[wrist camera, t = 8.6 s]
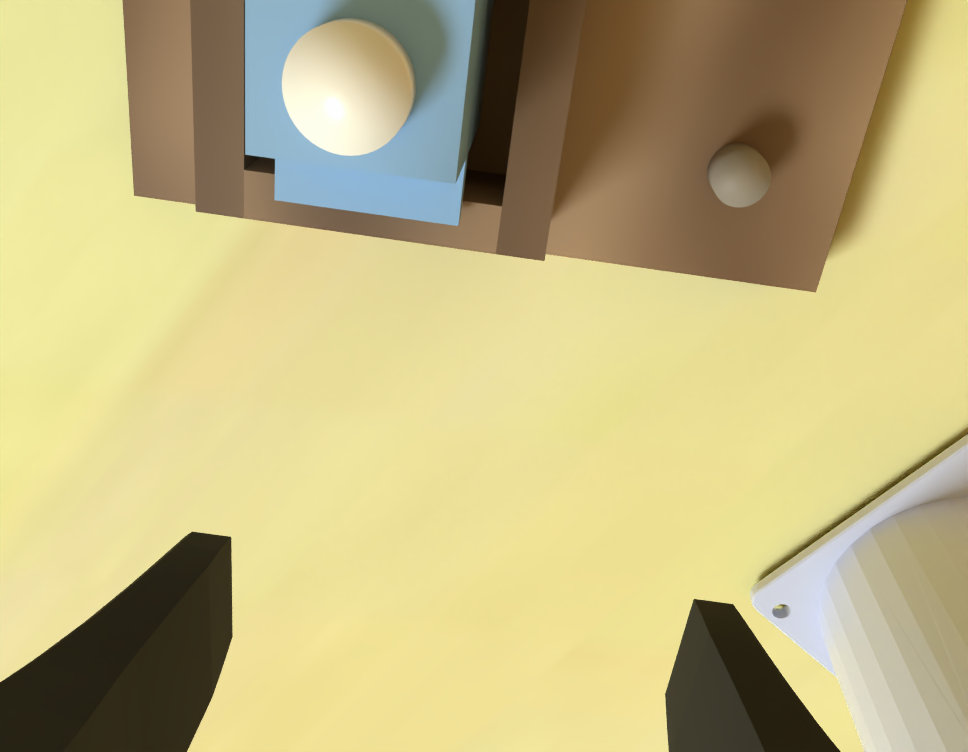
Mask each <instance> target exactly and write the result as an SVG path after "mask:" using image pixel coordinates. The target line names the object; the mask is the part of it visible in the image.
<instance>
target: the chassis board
mask: <svg viewBox="0 0 968 752" xmlns="http://www.w3.org/2000/svg"><path fill="white" fill-rule="evenodd" d="M906 3H907V0H494V5H493V14H492V23H491V31H490V40H489V48H488V57H487V65H486V74H485V82H484V91H483V100H482V108H481V117H480V125H479V128H478V130H477V133H476V135H475V138H474V140H473V142H472V145H471V147H470V150H469V152H468V159H467V168H466V177H465V185H464V194H463V203H462V212H461V219H460V222H459V225H458V226H454V225H447V224H440V223H433V222H426V221H419V220H412V219H405V218H397V217H390V216H383V215H376V214H369V213H362V212H355V211H348V210H341V209H334V208H327V207H320V206H312V205H305V204H298V203H291V202H284V201H277V200H274V196H275V159H273V158H266V157H259V156H252V155H245V0H123V14H124V31H125V48H126V65H127V82H128V99H129V116H130V133H131V150H132V167H133V184H134V196H141V197H148V198H155V199H162V200H169V201H176V202H183V203H190V204H196V212H203V213H210V214H217V215H224V216H231V217H238V218H246V219H253V220H260V221H267V222H274V223H281V224H288V225H295V226H302V227H309V228H316V229H323V230H330V231H337V232H344V233H351V234H358V235H365V236H372V237H379V238H386V239H393V240H400V241H407V242H415V243H422V244H429V245H436V246H443V247H450V248H457V249H464V250H471V251H478V252H485V253H492V254H499V255H506V256H513V257H520V258H527V259H534V260H541V261H544V260H545V254H550V255H557V256H564V257H571V258H578V259H585V260H592V261H599V262H606V263H613V264H620V265H627V266H634V267H641V268H648V269H655V270H662V271H670V272H677V273H684V274H691V275H698V276H705V277H712V278H719V279H726V280H733V281H740V282H747V283H754V284H761V285H768V286H775V287H782V288H789V289H796V290H803V291H810V292H816V290H817V287H818V284H819V281H820V277H821V274H822V271H823V268H824V265H825V261H826V258H827V255H828V252H829V249H830V245H831V242H832V239H833V236H834V233H835V229H836V226H837V223H838V220H839V217H840V213H841V210H842V207H843V204H844V201H845V198H846V194H847V191H848V188H849V185H850V182H851V178H852V175H853V172H854V169H855V166H856V162H857V159H858V156H859V153H860V150H861V146H862V143H863V140H864V137H865V134H866V130H867V127H868V124H869V121H870V118H871V115H872V111H873V108H874V105H875V102H876V99H877V95H878V92H879V89H880V86H881V83H882V79H883V76H884V73H885V70H886V67H887V63H888V60H889V57H890V54H891V51H892V47H893V44H894V41H895V38H896V35H897V32H898V28H899V25H900V22H901V19H902V16H903V12H904V9H905V6H906Z"/></svg>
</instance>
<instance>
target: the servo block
mask: <svg viewBox="0 0 968 752" xmlns="http://www.w3.org/2000/svg"><path fill="white" fill-rule="evenodd" d="M493 5H494V0H245V155H252V156H259V157H266V158H273V159H275V196H274V200H277V201H284V202H291V203H298V204H305V205H312V206H320V207H327V208H334V209H341V210H348V211H355V212H362V213H369V214H376V215H383V216H390V217H397V218H405V219H412V220H419V221H426V222H433V223H440V224H447V225H454V226H458V225H459V222H460V219H461V212H462V203H463V194H464V185H465V177H466V168H467V159H468V152H469V150H470V147H471V145H472V142H473V140H474V138H475V135H476V133H477V130H478V128H479V125H480V117H481V108H482V100H483V91H484V82H485V74H486V65H487V57H488V48H489V40H490V31H491V23H492V14H493Z"/></svg>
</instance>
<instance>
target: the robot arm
mask: <svg viewBox="0 0 968 752" xmlns="http://www.w3.org/2000/svg"><path fill="white" fill-rule="evenodd" d="M750 598H751V602H752V605H753V607H754V608H755V609H756V610H757V611H758V612H759V613H760V614H761V615H763V616H764V617H765V618H766V619H767V620H769V621H770V622H771V623H772V624H773V625H775V626H776V627H777V628H778V629H779V630H781V631H782V632H783V633H784V634H785V635H786V636H788V637H789V638H790V639H791V640H792V641H794V642H795V643H796V644H797V645H798V646H800V647H801V648H802V649H803V650H804V651H806V652H807V653H808V654H809V655H810V656H812V657H813V658H814V659H815V660H816V661H818V662H819V663H820V664H821V665H822V666H824V667H825V668H826V669H827V670H828V671H829V672H831V673H832V674H833V675H834V676H835V677H837V679H838V681H839V684H840V687H841V690H842V692H843V695H844V698H845V700H846V703H847V706H848V709H849V711H850V714H851V717H852V720H853V722H854V725H855V728H856V730H857V733H858V736H859V739H860V741H861V744H862V747H863V749H864V752H968V434H967V435H966V436H964V437H963V438H961V439H960V440H959V441H957V442H956V443H954V444H953V445H951V446H950V447H949V448H947V449H946V450H944V451H943V452H942V453H940V454H939V455H937V456H936V457H934V458H933V459H932V460H930V461H929V462H927V463H926V464H925V465H923V466H922V467H920V468H919V469H918V470H916V471H915V472H913V473H912V474H910V475H909V476H908V477H906V478H905V479H903V480H902V481H901V482H899V483H898V484H896V485H895V486H893V487H892V488H891V489H889V490H888V491H886V492H885V493H884V494H882V495H881V496H879V497H878V498H876V499H875V500H874V501H872V502H871V503H869V504H868V505H867V506H865V507H864V508H862V509H861V510H859V511H858V512H857V513H855V514H854V515H852V516H851V517H850V518H848V519H847V520H845V521H844V522H842V523H841V524H840V525H838V526H837V527H835V528H834V529H833V530H831V531H830V532H828V533H827V534H826V535H824V536H823V537H821V538H820V539H818V540H817V541H816V542H814V543H813V544H811V545H810V546H809V547H807V548H806V549H804V550H803V551H801V552H800V553H799V554H797V555H796V556H794V557H793V558H792V559H790V560H789V561H787V562H786V563H784V564H783V565H782V566H780V567H779V568H777V569H776V570H775V571H773V572H772V573H770V574H769V575H767V576H766V577H765V578H763V579H762V580H760V581H759V582H758V583H756V584H755V585H754V586H753V587H752V588H751V591H750ZM779 604H785V605H786V606H785V607H784V608H781V609H774V607H775V606H777V605H779ZM231 639H232V565H231V537H227V536H220V535H213V534H205V533H198V532H191V533H190V534H188V535H187V536H185V537H184V538H183V539H182V540H181V541H180V542H178V543H177V544H176V545H175V546H174V547H173V548H172V549H171V550H169V551H168V552H167V553H166V554H165V555H164V556H163V557H162V558H160V559H159V560H158V561H157V562H156V563H155V564H154V565H152V566H151V567H150V568H149V569H148V570H147V571H146V572H144V573H143V574H142V575H141V576H140V577H139V578H137V579H136V580H135V581H134V582H133V583H132V584H131V585H129V586H128V587H127V588H126V589H125V590H123V591H122V592H121V593H120V594H119V595H117V596H116V597H115V598H114V599H112V600H111V601H110V602H109V603H108V604H106V605H105V606H104V607H103V608H101V609H100V610H99V611H98V612H97V613H95V614H94V615H93V616H92V617H90V618H89V619H88V620H87V621H85V622H84V623H83V624H81V625H80V626H79V627H77V628H76V629H75V630H73V631H72V632H71V633H69V634H68V635H67V636H65V637H64V638H63V639H61V640H60V641H59V642H57V643H56V644H55V645H53V646H52V647H51V648H49V649H48V650H47V651H45V652H44V653H43V654H41V655H40V656H38V657H37V658H36V659H34V660H33V661H31V662H30V663H28V664H27V665H25V666H24V667H23V668H21V669H20V670H18V671H17V672H15V673H14V674H12V675H11V676H9V677H8V678H6V679H5V680H3V681H1V682H0V752H187V750H188V748H189V746H190V744H191V742H192V739H193V737H194V735H195V733H196V731H197V729H198V727H199V725H200V722H201V720H202V718H203V716H204V714H205V712H206V710H207V707H208V705H209V703H210V701H211V699H212V696H213V693H214V690H215V688H216V685H217V682H218V679H219V676H220V673H221V670H222V667H223V664H224V661H225V658H226V655H227V652H228V649H229V645H230V642H231ZM665 697H666V715H667V732H668V745H669V752H840V750H839V749H838V748H837V747H836V746H835V744H834V743H833V742H832V741H831V740H830V738H829V737H828V736H827V735H826V733H825V732H824V731H823V729H822V728H821V727H820V726H819V724H818V723H817V722H816V720H815V719H814V718H813V716H812V715H811V714H810V712H809V711H808V710H807V708H806V707H805V706H804V704H803V703H802V702H801V700H800V699H799V698H798V696H797V695H796V694H795V692H794V691H793V690H792V688H791V687H790V685H789V684H788V683H787V681H786V680H785V678H784V677H783V676H782V674H781V673H780V671H779V670H778V668H777V667H776V666H775V664H774V663H773V661H772V660H771V658H770V657H769V656H768V654H767V653H766V651H765V650H764V648H763V647H762V645H761V644H760V642H759V641H758V640H757V638H756V637H755V635H754V634H753V632H752V631H751V629H750V628H749V626H748V625H747V623H746V622H745V620H744V619H743V618H742V616H741V615H740V613H739V612H738V610H737V609H736V608H735V606H734V605H733V604H727V603H720V602H712V601H705V600H697V599H694V600H693V604H692V607H691V610H690V614H689V617H688V620H687V624H686V627H685V630H684V634H683V637H682V640H681V644H680V647H679V650H678V654H677V657H676V660H675V664H674V667H673V670H672V674H671V677H670V680H669V684H668V687H667V690H666V694H665Z"/></svg>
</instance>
